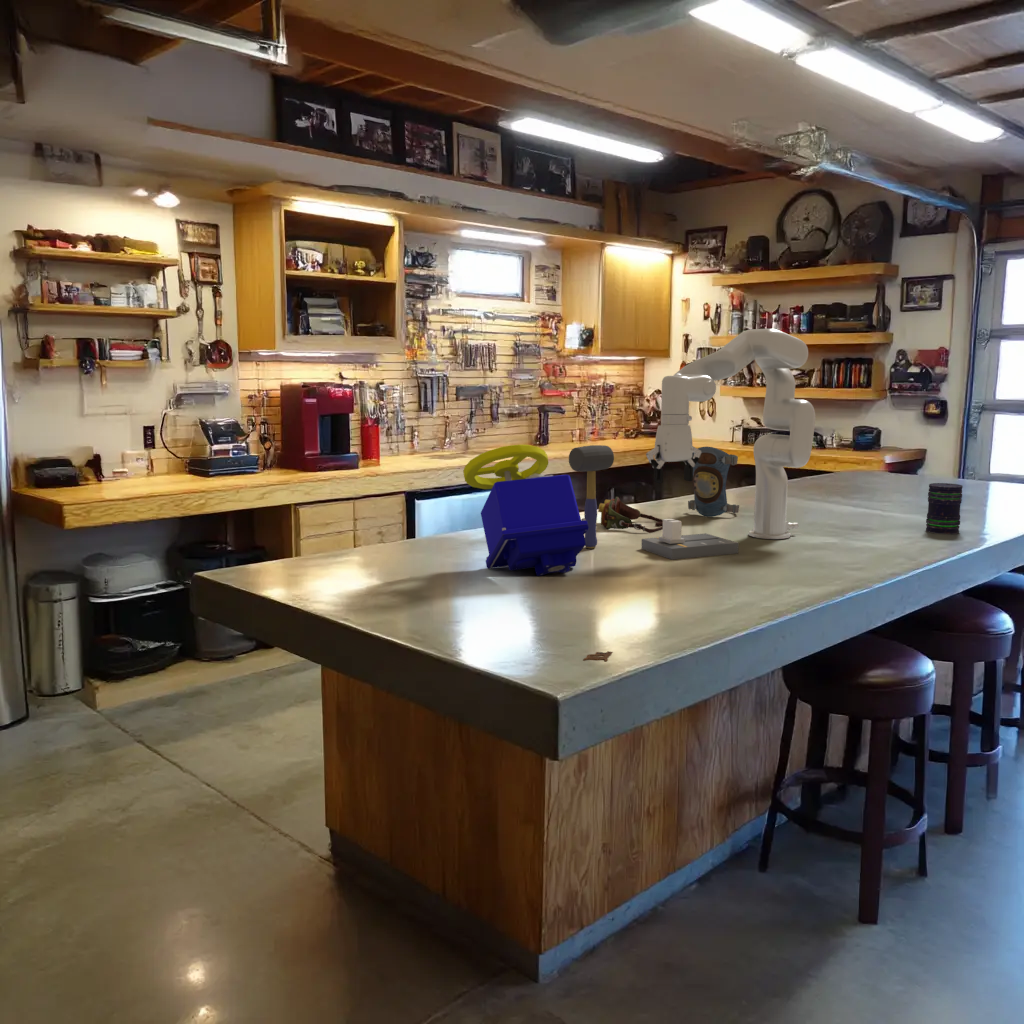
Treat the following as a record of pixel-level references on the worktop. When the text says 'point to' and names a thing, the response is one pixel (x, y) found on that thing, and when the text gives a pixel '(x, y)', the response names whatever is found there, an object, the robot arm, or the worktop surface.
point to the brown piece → (606, 655)
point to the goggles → (623, 516)
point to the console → (691, 546)
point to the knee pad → (712, 482)
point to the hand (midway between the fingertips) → (673, 481)
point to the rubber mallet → (591, 481)
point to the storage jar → (944, 508)
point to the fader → (671, 531)
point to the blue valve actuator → (527, 512)
